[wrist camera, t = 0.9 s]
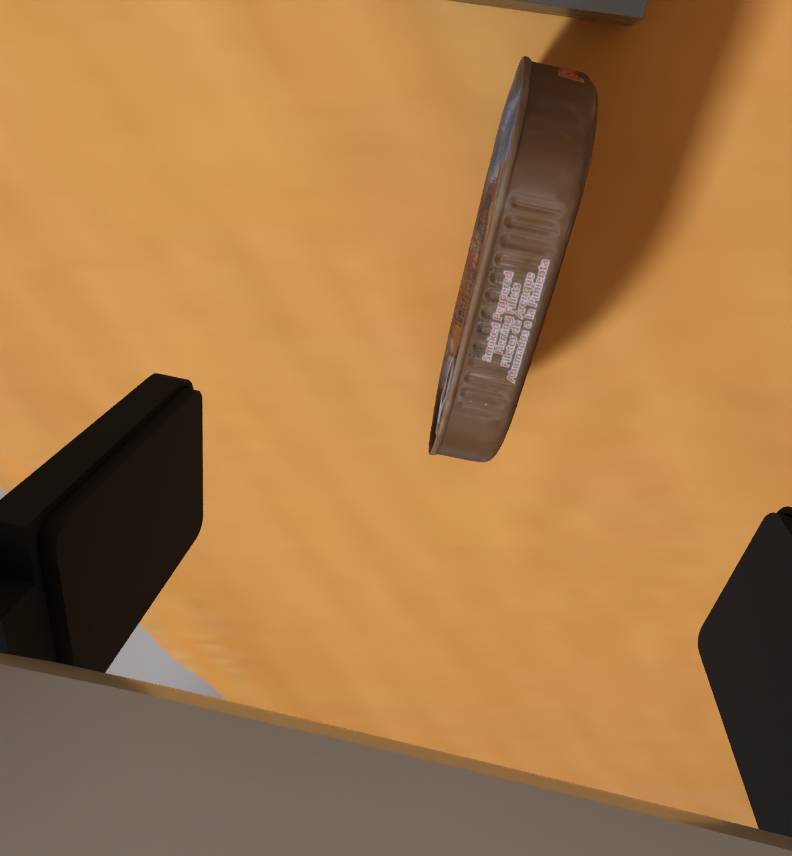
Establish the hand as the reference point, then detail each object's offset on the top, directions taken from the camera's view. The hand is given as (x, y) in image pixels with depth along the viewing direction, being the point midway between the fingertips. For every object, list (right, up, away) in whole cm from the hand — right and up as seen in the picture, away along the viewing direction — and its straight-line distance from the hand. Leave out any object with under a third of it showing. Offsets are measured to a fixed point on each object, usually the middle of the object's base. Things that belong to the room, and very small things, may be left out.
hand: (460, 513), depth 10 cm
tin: (+4, +9, +18) cm, 20 cm away
